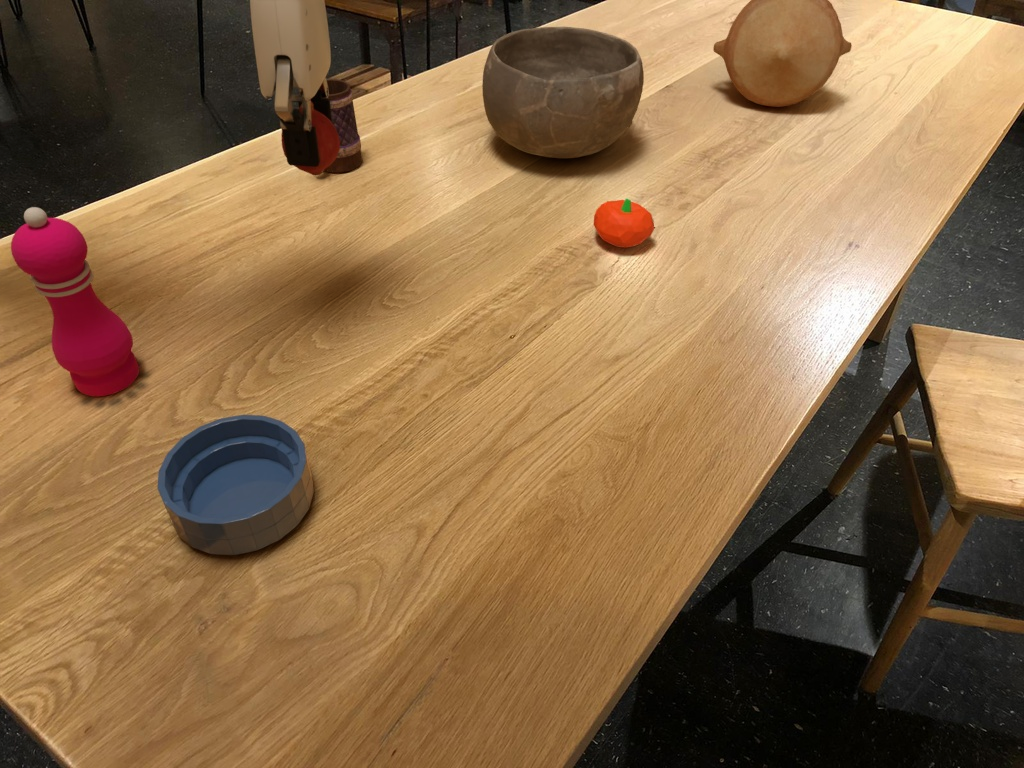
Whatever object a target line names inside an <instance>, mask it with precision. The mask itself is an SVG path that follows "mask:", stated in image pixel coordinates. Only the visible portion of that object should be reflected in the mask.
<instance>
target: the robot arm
mask: <svg viewBox="0 0 1024 768" xmlns="http://www.w3.org/2000/svg"><path fill="white" fill-rule="evenodd" d="M249 8H250V19H251V20H250V21H251V29H252V30H251V31H252V38H253V47H254V54H255V61H256V68H257V75H258V77H257V78H258V84H259V90H260V94H261V95H262V96H263V97H264V98H265V99H271V98H272V97H273V96H274V112H275V114H276V115H277V117H278V119H279V125H280V129H281V134H282V133H283V139H284V145H285V151H286V156H285V158H286V157H287V158H286V162H287V164H288V165H289V166H294V167H295V166H311V167H317V166H318V165H319V163H320V157H319V150H318V142H317V135H316V127H312V123H311V102H312V103H313V105H314V107H313V108H314V110H317V111H318V112H320V113H322V114H323V115H325V116H326V117H327V118H328V119H329V120H330V121H331V122H332V114H331V106H330V99H324V98H328V96H329V89H328V84H327V80H326V79H327V75H328V73H329V70H330V69H331V63H332V53H331V39H330V31H329V23H328V15H327V9H326V8H327V7H326V2H325V0H249ZM293 90H298V91H299V94H293V92H294V91H293ZM294 103H298V108H295V105H294ZM301 105H302V111H303V115H302V114H301V112H300V111H299V108H300V106H301Z"/></svg>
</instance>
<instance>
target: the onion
mask: <svg viewBox="0 0 1024 768" xmlns="http://www.w3.org/2000/svg"><path fill="white" fill-rule="evenodd" d="M313 107H314V105H313V103H312V102H311V123H312V127H316V135H317V142H318V150H319V157H320V163H319V165H318V166H317V167H311V166H294V167H295V168H296V169H298V170H300V171H302V172H304V173H308V174H310V175H312V176H318V175H321V174H322V173H323V172H324V170H325V169H326V168H327V167H328V166H330V165H331V164H332V163H333V162H334V161H335V159H336V157H337V155H338V152H339V150H340V139H339V136H338V133H337V131H336V129H335V127H334V125H333V123H332V122H331V121H330V120H329V119H328V118H327V117H326V116H325V115H323V114H322V113H320V112H318V111H317V110H314V108H313ZM298 109H299V111H300V112H301V114H302V115H303V111H302V105H301V106H300V108H299V107H298ZM280 136H281V148H282V151H283V155H284V156H285V158H286V159H287V157H286V151H285V145H284V139H283V133H282V132H281V135H280Z"/></svg>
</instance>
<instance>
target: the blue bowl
mask: <svg viewBox="0 0 1024 768" xmlns="http://www.w3.org/2000/svg"><path fill="white" fill-rule="evenodd" d="M306 448H307V447H306V445H305V442H304V441H303V439H302V437H301V436H300V435H299V433H298V432H297V431H296V429H294V428H293V427H291V426H290V425H288V424H287V423H285V422H284V421H282V420H279V419H277V418H274V417H271V416H266V415H259V414H238V415H232V416H226V417H222V418H218V419H215V420H213V421H211V422H208V423H205V424H203V425H200V426H197V428H195V429H194V430H192V431H191V432H189V433H187V434H186V435H185V436H183V437H181V439H179V440H178V441H177V442H176V444H175V445H174V446H173V447H172V448H171V449H170V450H169V451H168V452H167V453H166V455H165V457H164V459H163V460H162V463H161V465H160V466H159V467H160V468H159V469H158V474H157V491H158V493H159V497H160V498H161V501H162V503H163V505H164V507H165V509H166V511H167V514H168V516H169V519H170V520H171V522H172V524H173V527H174V529H175V531H176V534H177V535H178V536H179V538H181V539H182V540H183V541H184V542H185V543H187V544H188V545H189V546H190V547H192V548H194V549H196V550H199V551H201V552H203V553H204V552H205V553H208V554H210V555H222V556H237V555H241V554H246V553H251V552H256V551H259V550H262V549H264V548H266V547H268V546H270V545H272V544H274V543H276V542H278V541H281V540H282V539H283V538H284V537H285V536H287V535H288V534H289V533H290V532H292V531H293V530H294V529H295V528H296V527H297V526H298V525H300V523H301V521H302V520H303V518H304V517H305V516H306V514H307V513H308V511H309V509H310V507H311V503H312V501H313V500H312V499H313V496H314V492H315V489H314V481H313V474H312V469H311V465H310V461H309V458H308V453H307V449H306Z"/></svg>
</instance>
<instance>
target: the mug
mask: <svg viewBox="0 0 1024 768" xmlns="http://www.w3.org/2000/svg"><path fill="white" fill-rule="evenodd" d="M326 80H327V84H328V89H329V96H328V98H324V99H330V106H331V114H332V123H333V125H334V127H335V129H336V131H337V133H338V136H339V139H340V150H339V152H338V155H337V157H336V159H335V161H334V162H333V163H332V164H331V165H330V166H328V167H327V168H326V169H325V170H323V172H327V173H332V174H341V173H347V172H350V171H354V170H355V169H357V168H358V167H359V166H360V165H361V164H362V162H363V154H362V141H361V136H360V134H359V131H358V124H357V118H356V111H355V105H354V96H353V91H352V90H351V86H350V83H348V82H347V81H345V80H342V79H336V78H326Z"/></svg>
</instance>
